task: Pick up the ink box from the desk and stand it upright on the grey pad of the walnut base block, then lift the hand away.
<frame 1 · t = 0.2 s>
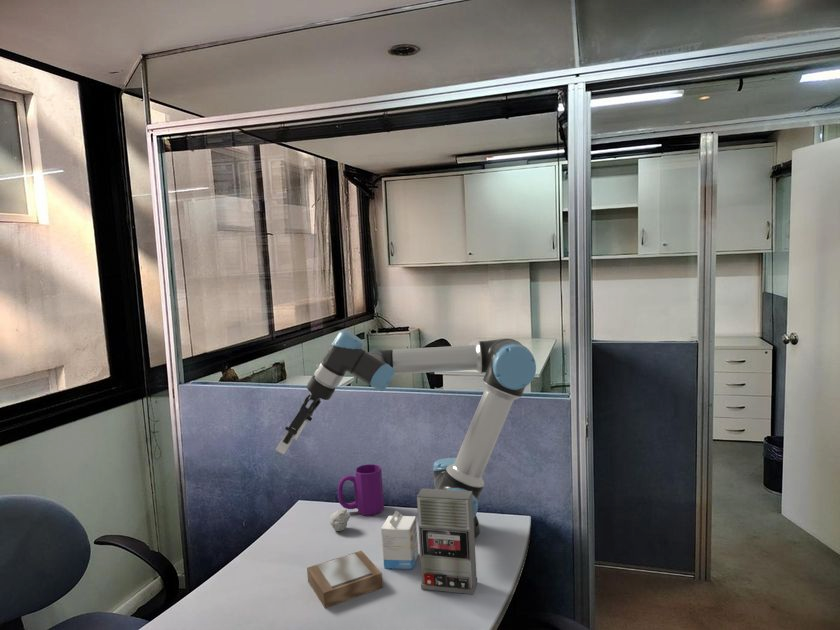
hand: (286, 444, 160), 35 cm above the table, tool tilted 35°, fingers open, 13 cm apart
mug: (361, 511, 195), on the table
cassette tape recorder: (449, 587, 147), on the table
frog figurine: (340, 530, 182), on the table
walnut base: (344, 584, 151), on the table
ink box: (401, 561, 161), on the table
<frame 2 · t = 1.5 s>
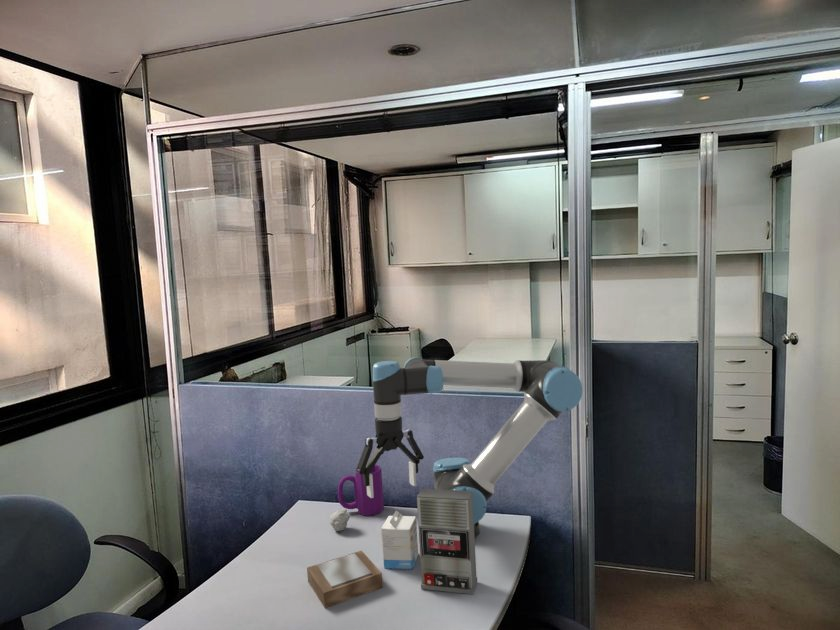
hand: (392, 490, 159), 21 cm above the table, tool pointing down, fingers open, 13 cm apart
nothing on the table moved.
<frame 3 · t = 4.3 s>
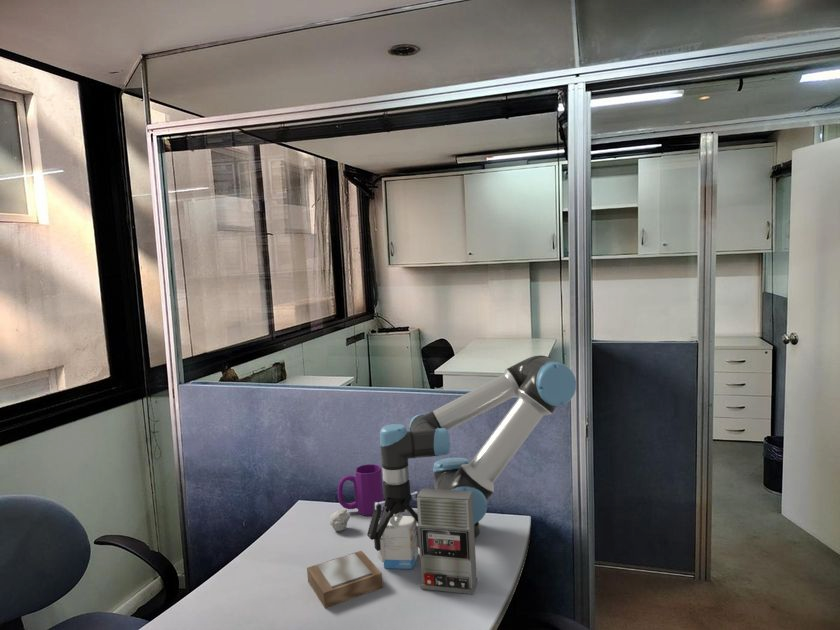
hand: (401, 553, 161), 2 cm above the table, tool pointing down, fingers closed on ink box, 11 cm apart
ink box: (401, 561, 161), on the table, touching gripper
everything else where it was.
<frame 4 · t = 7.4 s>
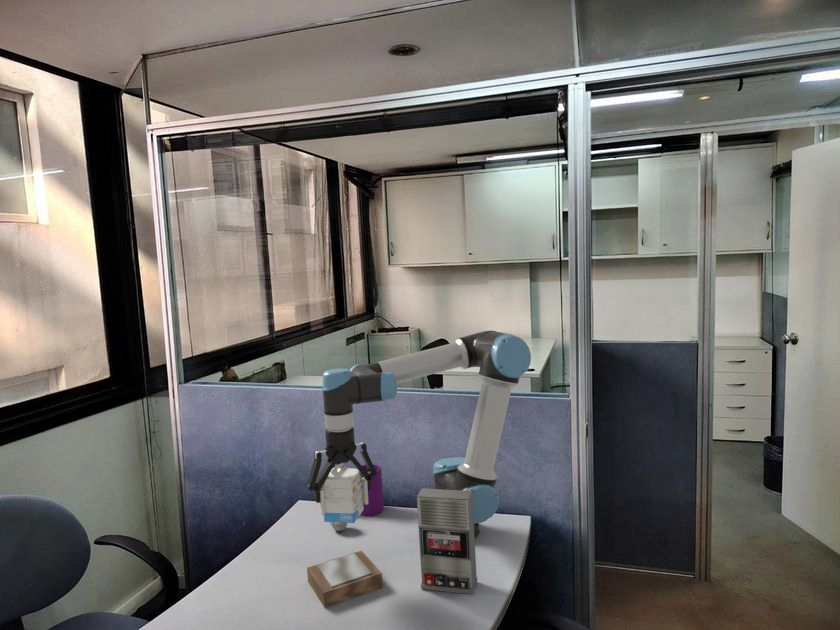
hand: (343, 508, 150), 21 cm above the table, tool pointing down, fingers closed on ink box, 11 cm apart
ink box: (344, 516, 150), point 18 cm above the table, touching gripper
everything else where it was.
when the fingers open (8 cm above the table, at t = 10.9 s): ink box drops 2 cm, resting on walnut base.
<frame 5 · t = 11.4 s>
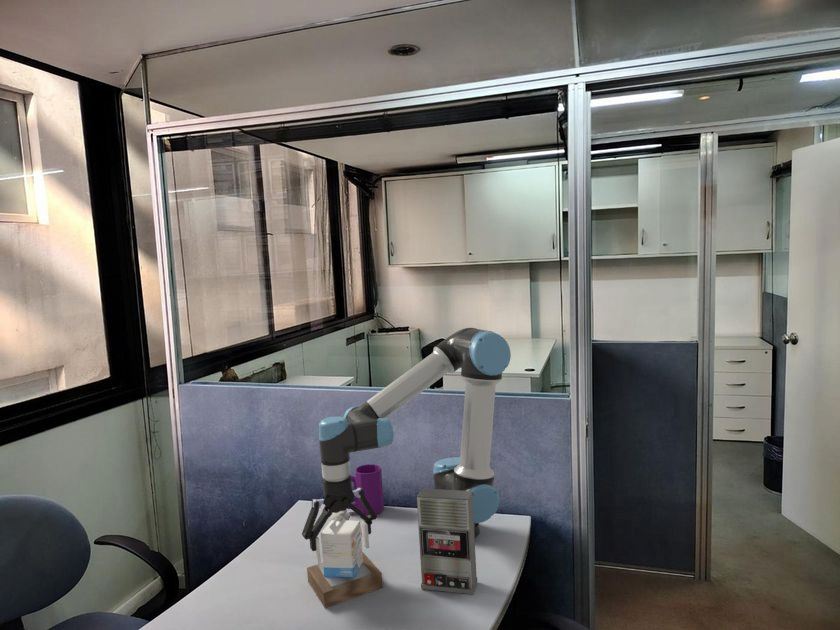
hand: (342, 553, 150), 9 cm above the table, tool pointing down, fingers open, 13 cm apart
ink box: (344, 569, 150), point 4 cm above the table, touching walnut base
everything else where it was.
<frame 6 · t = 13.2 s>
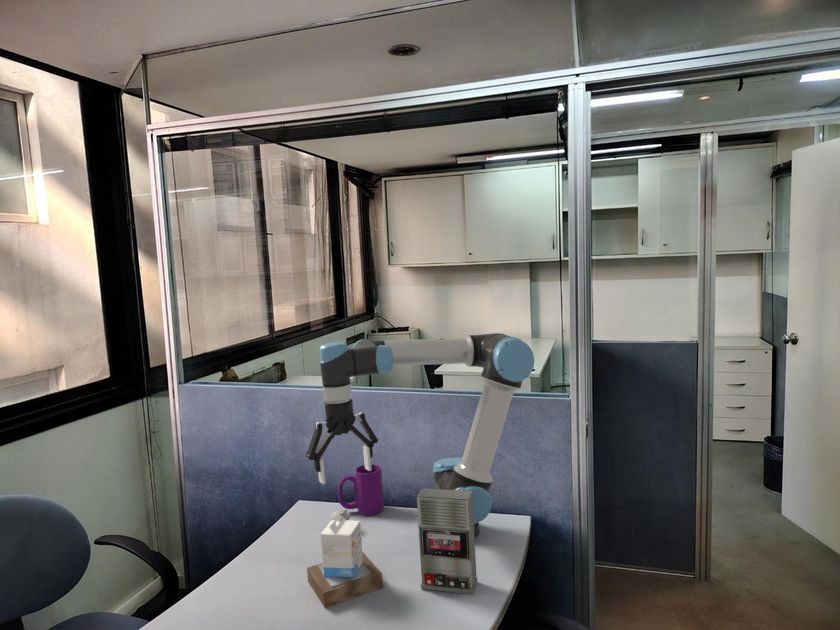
hand: (345, 475, 154), 28 cm above the table, tool pointing down, fingers open, 13 cm apart
nothing on the table moved.
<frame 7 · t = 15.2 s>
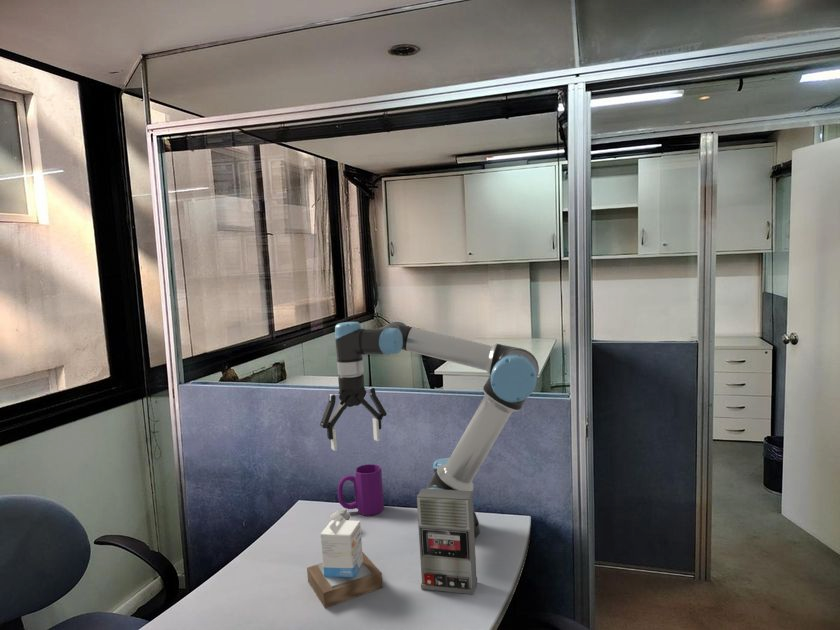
hand: (355, 445, 167), 32 cm above the table, tool pointing down, fingers open, 13 cm apart
nothing on the table moved.
at the end: ink box inside the target area on the walnut base (0.1 cm from its centre), point 4.2 cm above the walnut base's base; ink box tilted 0°; the gripper is holding nothing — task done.
